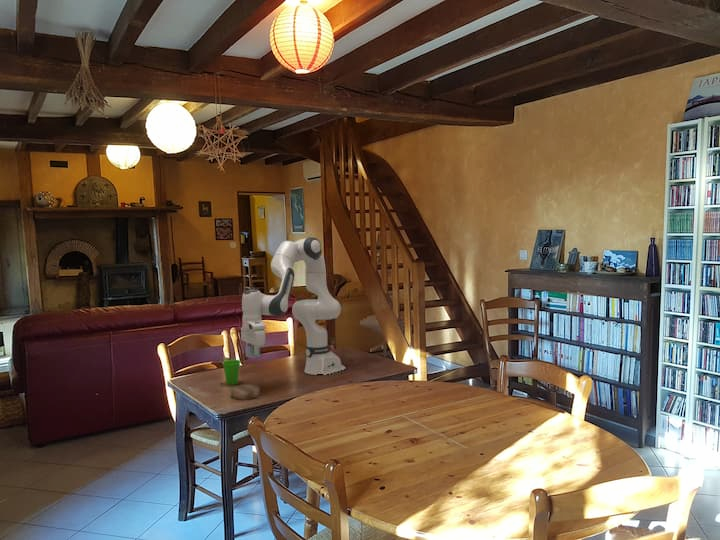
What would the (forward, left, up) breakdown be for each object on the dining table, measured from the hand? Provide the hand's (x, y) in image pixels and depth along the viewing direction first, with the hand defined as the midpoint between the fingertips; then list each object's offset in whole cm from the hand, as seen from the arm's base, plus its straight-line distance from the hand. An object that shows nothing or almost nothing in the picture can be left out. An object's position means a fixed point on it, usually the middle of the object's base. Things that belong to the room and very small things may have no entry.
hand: (252, 352), depth 240 cm
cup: (+4, -17, -18) cm, 25 cm away
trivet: (+6, +4, -18) cm, 20 cm away
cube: (0, 0, -2) cm, 2 cm away
